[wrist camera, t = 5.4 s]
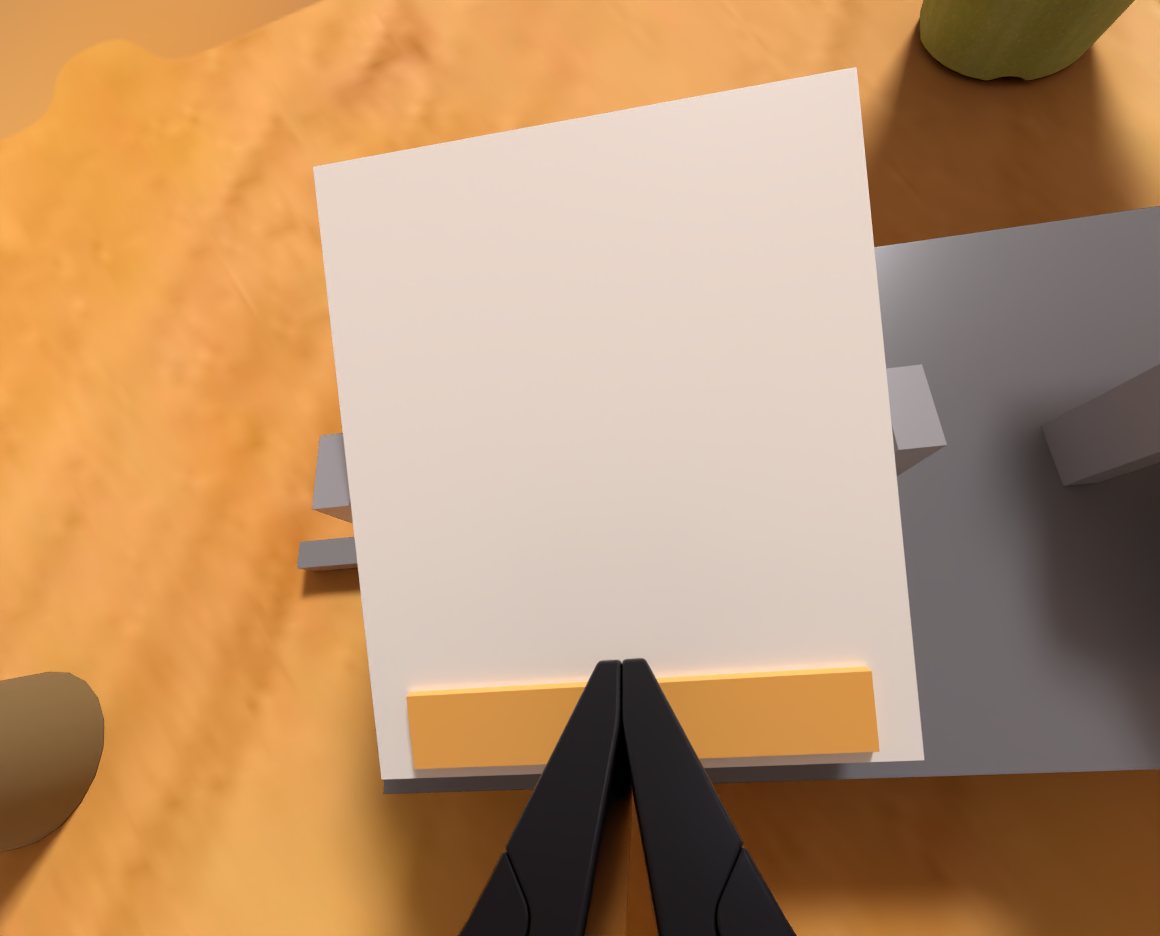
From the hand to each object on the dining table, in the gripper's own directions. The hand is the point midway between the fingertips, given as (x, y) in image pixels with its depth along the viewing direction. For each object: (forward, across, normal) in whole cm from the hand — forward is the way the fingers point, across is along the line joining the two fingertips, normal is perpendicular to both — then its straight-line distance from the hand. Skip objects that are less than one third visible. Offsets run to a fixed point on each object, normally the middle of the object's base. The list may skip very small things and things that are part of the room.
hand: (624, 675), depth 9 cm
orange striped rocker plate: (+3, 0, -3) cm, 4 cm away
